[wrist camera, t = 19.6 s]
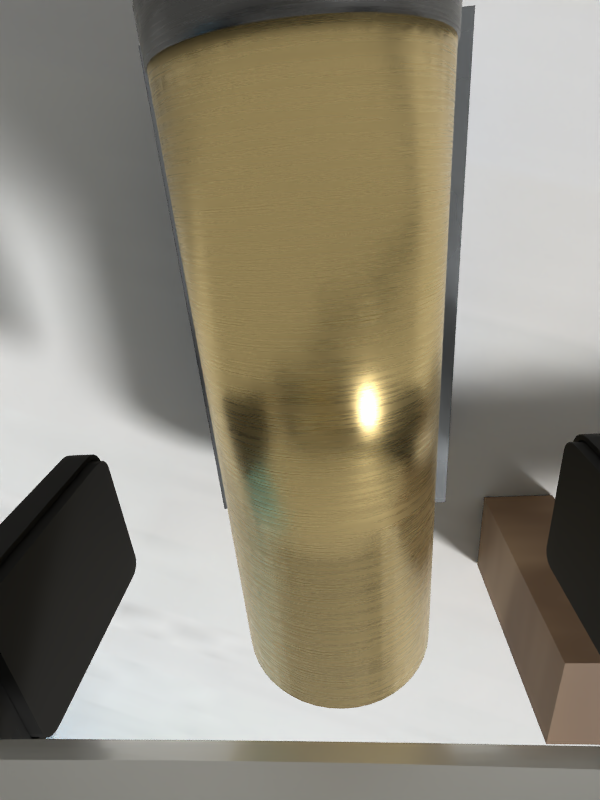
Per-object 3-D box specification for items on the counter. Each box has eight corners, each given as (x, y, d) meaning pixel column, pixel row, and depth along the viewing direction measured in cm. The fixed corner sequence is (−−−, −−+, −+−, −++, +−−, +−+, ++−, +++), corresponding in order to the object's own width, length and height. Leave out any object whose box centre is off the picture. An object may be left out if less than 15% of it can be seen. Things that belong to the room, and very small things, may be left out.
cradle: (450, 26, 10) (500, -37, 7) (431, 448, 15) (458, 516, 12) (172, 58, 11) (112, 12, 8) (236, 456, 16) (214, 523, 13)
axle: (228, -50, 9) (5, -203, 5) (488, -136, 7) (439, -468, 3) (294, 540, 15) (215, 667, 11) (443, 577, 13) (407, 743, 9)
